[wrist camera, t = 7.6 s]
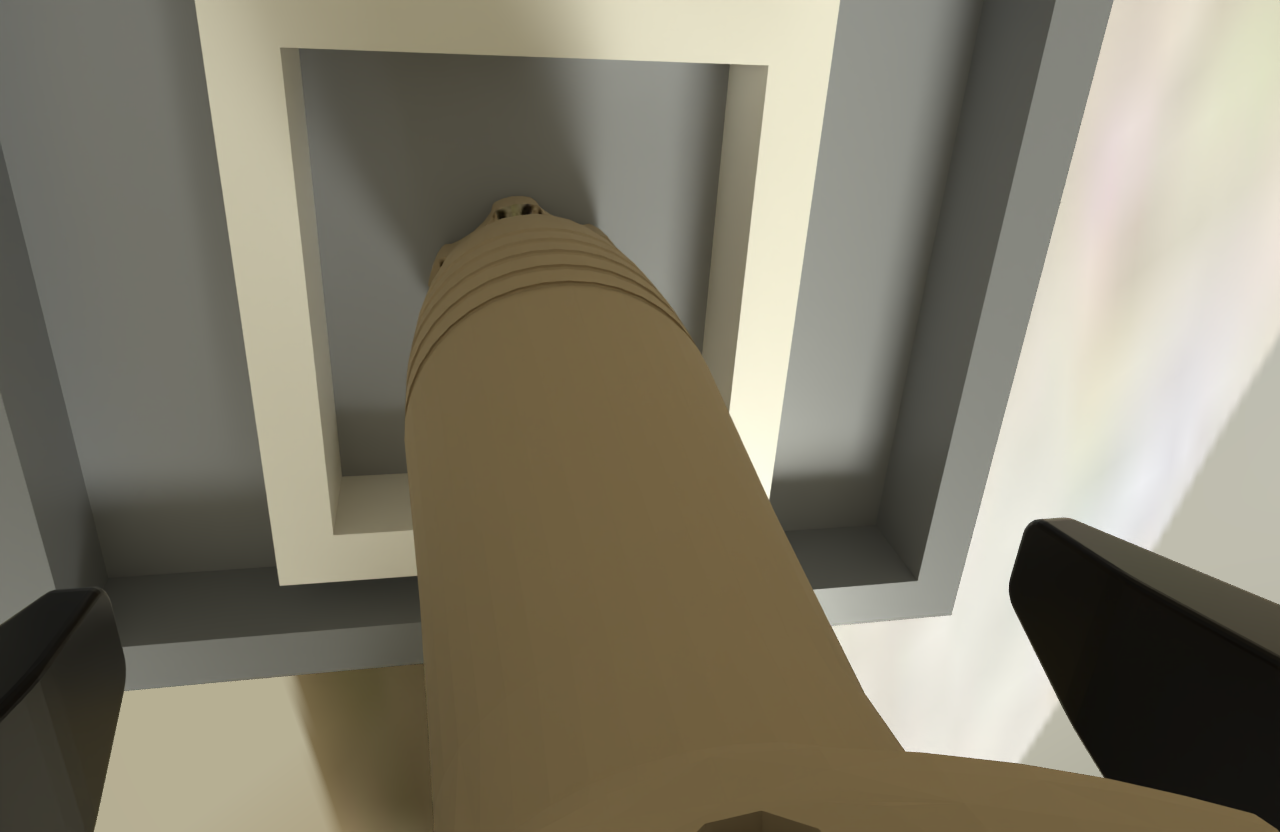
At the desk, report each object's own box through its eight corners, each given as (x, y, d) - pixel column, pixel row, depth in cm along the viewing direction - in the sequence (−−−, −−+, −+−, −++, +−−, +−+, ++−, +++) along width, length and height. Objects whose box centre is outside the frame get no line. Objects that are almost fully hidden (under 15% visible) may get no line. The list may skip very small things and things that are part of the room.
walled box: (900, 547, 22) (951, 614, 20) (69, 610, 19) (22, 700, 17) (1051, -129, 16) (1149, -136, 14) (-164, -234, 12) (-288, -266, 10)
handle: (309, 169, 15) (-319, 1474, 2) (687, 119, 16) (1707, 892, 3) (374, 424, 18) (228, 1793, 5) (702, 369, 19) (1340, 1406, 6)
